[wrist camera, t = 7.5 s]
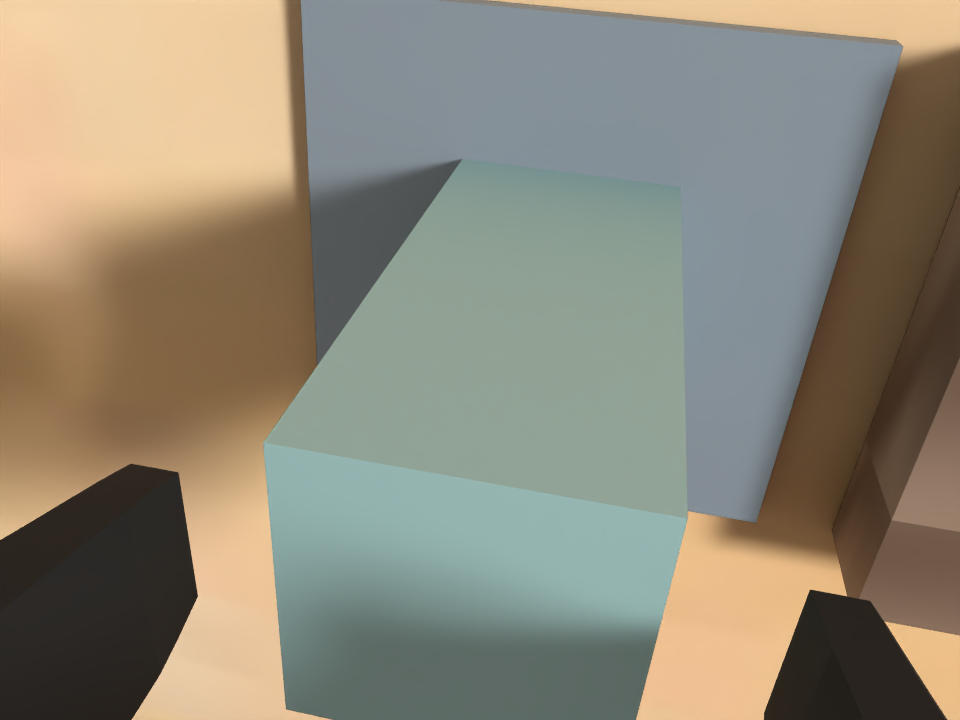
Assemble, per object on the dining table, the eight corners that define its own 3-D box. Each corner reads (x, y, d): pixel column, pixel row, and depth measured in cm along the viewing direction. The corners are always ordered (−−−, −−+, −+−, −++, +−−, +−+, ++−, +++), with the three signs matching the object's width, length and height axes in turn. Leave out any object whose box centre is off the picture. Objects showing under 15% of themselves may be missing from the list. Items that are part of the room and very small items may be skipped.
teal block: (643, 374, 17) (618, 783, 10) (451, 344, 18) (285, 708, 10) (680, 186, 15) (687, 518, 8) (462, 159, 16) (263, 442, 8)
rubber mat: (754, 508, 19) (755, 522, 19) (328, 434, 20) (320, 446, 20) (896, 40, 14) (903, 46, 13) (310, -18, 15) (300, -14, 15)
